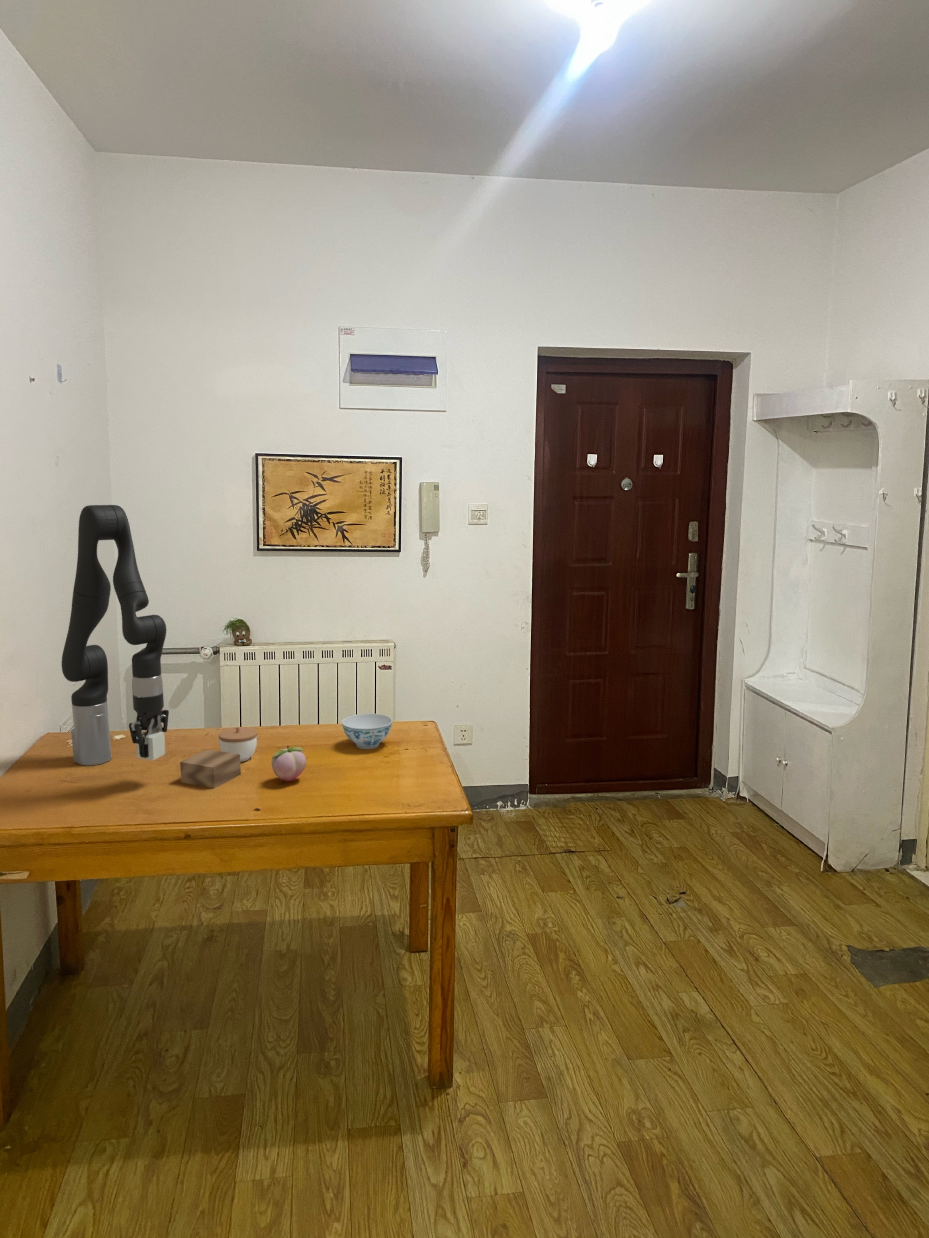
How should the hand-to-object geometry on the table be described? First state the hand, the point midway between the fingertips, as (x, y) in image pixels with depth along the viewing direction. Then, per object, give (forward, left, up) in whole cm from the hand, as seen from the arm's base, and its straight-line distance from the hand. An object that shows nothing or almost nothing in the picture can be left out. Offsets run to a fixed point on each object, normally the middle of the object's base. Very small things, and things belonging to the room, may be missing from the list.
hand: (151, 753), depth 235 cm
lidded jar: (+11, +24, -9) cm, 28 cm away
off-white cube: (0, 0, -1) cm, 1 cm away
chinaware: (+43, +45, -9) cm, 63 cm away
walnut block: (+12, +8, -9) cm, 17 cm away
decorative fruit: (+34, +12, -9) cm, 37 cm away
